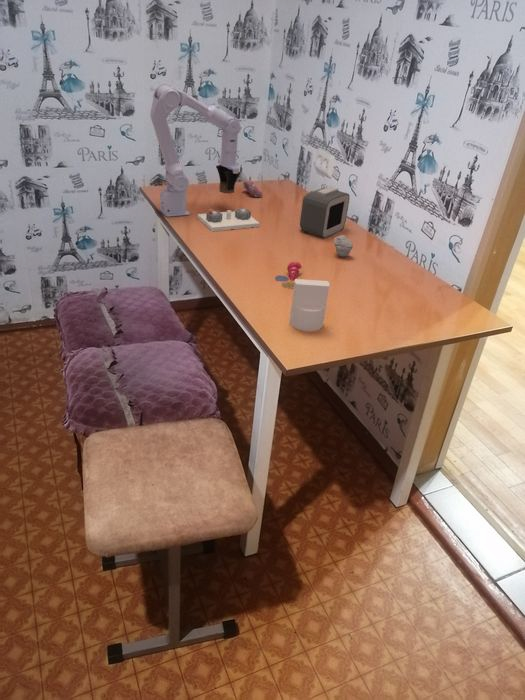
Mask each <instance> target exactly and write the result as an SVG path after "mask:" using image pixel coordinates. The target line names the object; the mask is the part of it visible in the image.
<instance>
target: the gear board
mask: <svg viewBox="0 0 525 700" xmlns="http://www.w3.org/2000/svg"><path fill="white" fill-rule="evenodd" d="M251 214H252V211H251V210H250V209H248V208H247V209H245V208H244V207H243V208H236V209H235V210H234V211H232V210H231V209H228V210H226V211H217V210H213V209H212V208H209V209H208V211H207V212H206V213H198V214H197V219H198V221H200V222H201V223H202V224H203V225H204V226H206V228H207V229H208V230H209V231H211V232H212V233H214V232H220V231H222V232H223V231H232V230H231V229H234V230H241V229H243V228H244V229H252V228H251V227H254V228H260V227H261V225H260V224H261V223H260V222H259V221H258V220H256V219H255V218H254V217H253V216H252V215H251ZM244 229H243V230H244Z"/></svg>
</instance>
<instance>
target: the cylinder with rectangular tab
mask: <svg viewBox="0 0 525 700" xmlns="http://www.w3.org/2000/svg"><path fill="white" fill-rule="evenodd" d="M293 288H294V289H293V293H292V300H291V307H290V317H289V324H290V325H291V326H292V327H293V328H294V327H295V328H294V329H296V328H297V330H298V329H300V330H299V331H302V330H303V331H302V332H315V331H314V330H317V331H319V330H321V329H322V328H323V325H324V319H325V313H326V308H327V304H328V303H327V301H328V296H329V292H330V291H329V290H330V282H329V281H328V280H316V279H315V280H314V279H301V278H300V279H299V278H295V279H294V287H293ZM320 328H321V329H320ZM318 329H319V330H318Z"/></svg>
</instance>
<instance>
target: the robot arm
mask: <svg viewBox="0 0 525 700" xmlns="http://www.w3.org/2000/svg"><path fill="white" fill-rule="evenodd" d="M186 106H187V107H188V108H191V109H192V110H194V111H196V112H198V113H199V114H201V115H203V118H204V121H206V122H208V123H209V124H212V125H213V126H215V127H217V128H218V129H220V130H221V131H222V135H221V149H220V150H221V151H220V157H218V158H217V163H218V165H216V166H215V168H216V170H217V172H218V177H219V183H220V182H223V181H225V182H227V189H228V190H233V189H234V190H235V185H236V182H237V180H238V178H239V176H240V175H241V172H240V168H239V167H238V166H239V162H237V153H238V152H237V151H238V138H239V137H238V136H239V133H240V132H241V130H242V126H241V123H240V122H239V120H238V119H237V118H235V117H233V116H232V115H231V113H229V112H225V111H224V110H222V109H220V108H221V107H220V106H219V105H217V104H216V105H212V104H210V105H208V106H207V105H205V104H204V103H203V102H201V101H199V100H198V99H196V98H195V97H193V96H191V95H190V94H188V93H186V92H184V91H183V90H181V89H179V88H175V87H172V86H170V85H168V84H165V83H161V84H160V85H158V86H157V87H156V88H155V90H154V92H153V94H152V104H151V108H150V115H149V116H150V119H151V122H152V125H153V129H154V133H155V136H156V139H157V142H158V145H159V149H160V151H161V156H162V158H163V161H164V164H165V165H164V170H165V181H166V183H168V184H167V186H166V188H165V189H162V190H160V193H159V211H160V212H161V213H162V215H164V216H165V217H166V218H167V217H168V218H169V217H179V216H190V215H191V213H190V212H189V211H188V210H187V189H188V187H189V182H190V181H189V178H188V177H187V176H186V174H185V173H184V170H183V168H182V166H181V164H180V161H179V158H178V155H177V151H176V147H175V145H174V140H173V138H172V135H171V131H170V127H169V124H168V121H167V119H168V117H169V116H170V114H171V113H172V112H173V111H174V110H176V108H178V107H180V108H181V107H186Z"/></svg>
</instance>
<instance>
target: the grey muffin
mask: <svg viewBox="0 0 525 700" xmlns="http://www.w3.org/2000/svg"><path fill="white" fill-rule="evenodd" d="M333 245H334V248H335V252H336V254H337V255H338V256H339V257H341V258H343V257H348V255H350V253H351V251H352V250H353V248H354V244H353V243H352V242H351V240H350V239H349V238H348V237H347V236H345V235H343V234H341V235H337V236H336V237H334V238H333Z"/></svg>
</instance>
